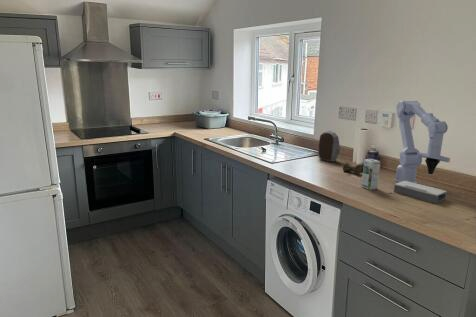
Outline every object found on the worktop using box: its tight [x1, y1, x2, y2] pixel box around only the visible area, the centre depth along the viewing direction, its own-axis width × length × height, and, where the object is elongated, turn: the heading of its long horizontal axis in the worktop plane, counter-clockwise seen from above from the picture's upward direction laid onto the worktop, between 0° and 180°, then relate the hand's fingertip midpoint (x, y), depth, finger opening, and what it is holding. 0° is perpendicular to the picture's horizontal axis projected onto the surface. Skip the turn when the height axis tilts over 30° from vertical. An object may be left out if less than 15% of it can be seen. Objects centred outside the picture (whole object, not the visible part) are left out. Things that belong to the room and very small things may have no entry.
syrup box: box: [360, 158, 382, 191], centre depth 182 cm, size 6×6×14 cm
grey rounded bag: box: [317, 130, 341, 162], centre depth 238 cm, size 15×8×20 cm, turn 41°
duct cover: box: [394, 181, 447, 196], centre depth 173 cm, size 20×10×1 cm, turn 39°
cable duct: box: [393, 184, 447, 204], centre depth 173 cm, size 20×10×4 cm, turn 39°
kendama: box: [342, 161, 364, 176], centre depth 213 cm, size 6×10×20 cm
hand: (430, 173), depth 177 cm, fingers closed
